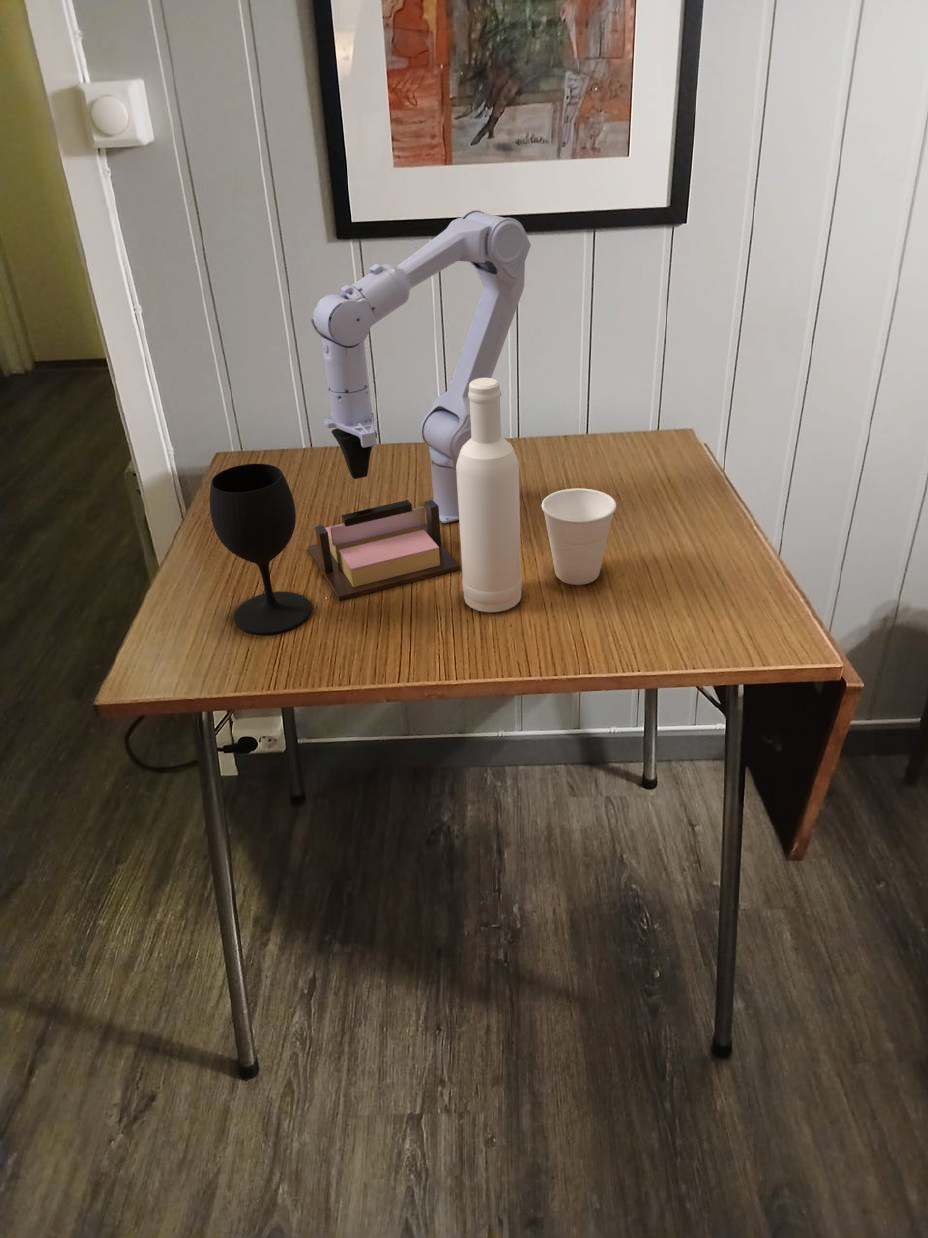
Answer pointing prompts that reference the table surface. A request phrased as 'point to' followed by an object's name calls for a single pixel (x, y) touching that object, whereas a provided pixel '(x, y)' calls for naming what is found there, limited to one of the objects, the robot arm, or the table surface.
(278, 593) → the wine glass
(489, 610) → the bottle
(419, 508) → the knife
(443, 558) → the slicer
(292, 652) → the table surface
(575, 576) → the cup
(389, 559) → the pink sponge pad
